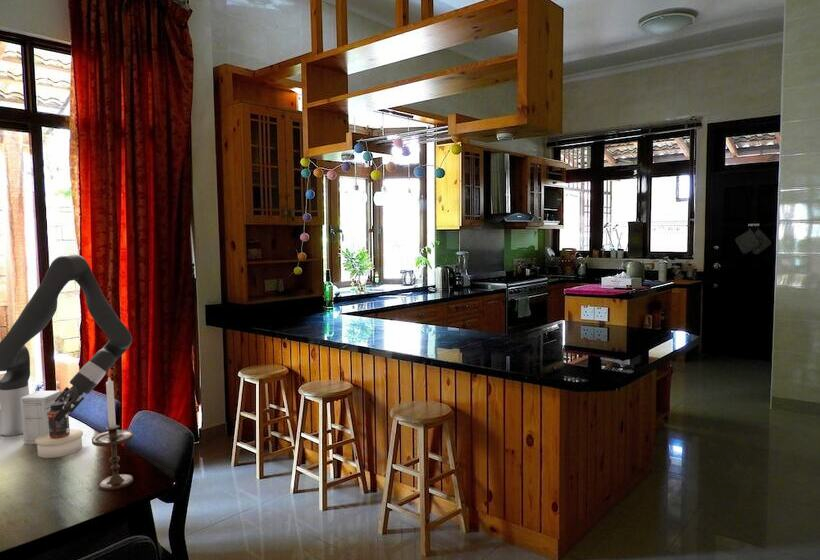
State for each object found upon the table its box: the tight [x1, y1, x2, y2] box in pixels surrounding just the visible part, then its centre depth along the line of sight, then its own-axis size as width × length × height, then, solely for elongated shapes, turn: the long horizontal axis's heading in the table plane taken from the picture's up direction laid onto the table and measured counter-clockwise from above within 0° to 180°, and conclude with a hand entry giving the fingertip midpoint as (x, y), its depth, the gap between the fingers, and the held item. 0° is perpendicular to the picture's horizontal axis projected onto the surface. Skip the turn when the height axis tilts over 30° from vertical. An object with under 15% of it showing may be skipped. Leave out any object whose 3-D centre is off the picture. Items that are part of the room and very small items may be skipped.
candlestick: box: [91, 367, 135, 492], centre depth 168 cm, size 11×11×35 cm
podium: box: [35, 428, 84, 459], centre depth 196 cm, size 14×14×5 cm
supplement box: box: [20, 390, 63, 445], centre depth 207 cm, size 10×9×17 cm
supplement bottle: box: [48, 402, 71, 438], centre depth 196 cm, size 6×6×11 cm
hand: (52, 418), depth 195 cm, fingers open, 7 cm apart
